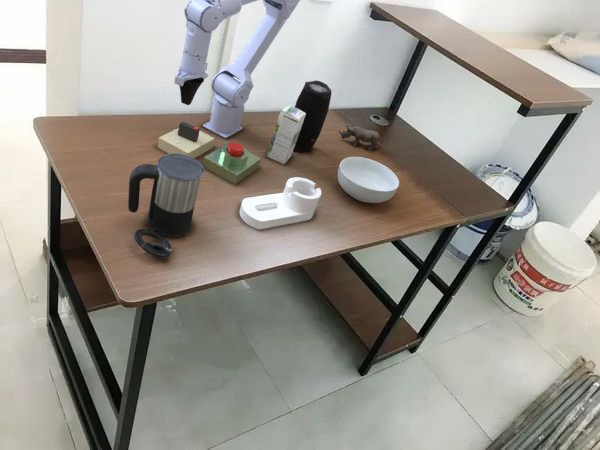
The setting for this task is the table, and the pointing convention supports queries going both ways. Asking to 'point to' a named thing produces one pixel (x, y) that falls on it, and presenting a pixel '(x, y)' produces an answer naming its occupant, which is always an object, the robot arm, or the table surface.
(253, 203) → the bracket
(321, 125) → the portable speaker
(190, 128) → the block
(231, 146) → the button
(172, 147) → the dial panel
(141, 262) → the table surface
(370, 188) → the cereal bowl
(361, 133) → the rhino figurine
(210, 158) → the push button base
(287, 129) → the syrup box
